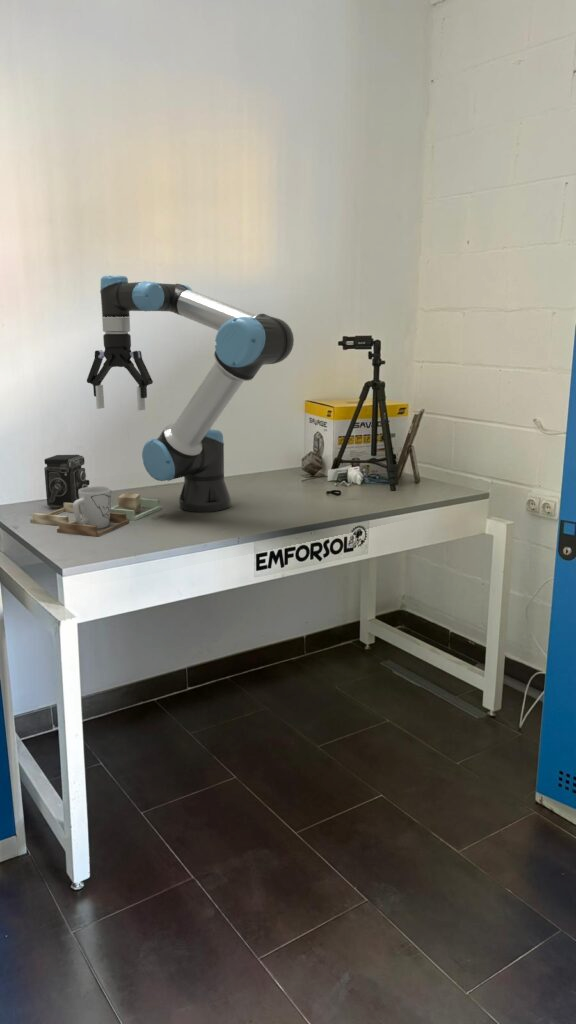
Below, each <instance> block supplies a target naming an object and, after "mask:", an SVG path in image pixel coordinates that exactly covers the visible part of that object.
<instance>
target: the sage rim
mask: <svg viewBox="0 0 576 1024" xmlns="http://www.w3.org/2000/svg"><path fill="white" fill-rule="evenodd" d="M140 503H141V508H146V509H148V510H146V511H144V512H141V513H138V514H136V515H135V514H134V510H125V509H119V506H118V504H117V505H114V506H111V512H112V513H123V514H126V520H129V521H130V520H131V521H137V520H140V519H142V518H144V517H146V516H148V515H151V514H152V513H155V512H157V511H159V510H162V509H163V505H160V499H152V498H141V497H140Z"/></svg>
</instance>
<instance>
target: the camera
mask: <svg viewBox="0 0 576 1024" xmlns="http://www.w3.org/2000/svg"><path fill="white" fill-rule="evenodd" d="M44 464H45V465H46V466H45V467H44V479H45V481H44V482H45V483H44V484H45V493H46V495H45V497H46V504H47V506H48V507H50V508H51V509H54V508H58V509H62V508H64V504H63V503H65V502H66V503H74V502H75V501H76V500H78V499H79V494H78V491H79V489H81V488H85V487H89V486H90V479H87V475H86V469H85V467H82V466H83V465H85V457H84V456H83V455H80V454H55V455H53V456H51V457H47V458H45V459H44Z"/></svg>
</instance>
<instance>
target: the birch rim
mask: <svg viewBox="0 0 576 1024" xmlns="http://www.w3.org/2000/svg"><path fill="white" fill-rule="evenodd" d="M63 504H64V508H58V509H56V510H54V511H50V512H48V513H37V512H33V513H32V518H31V519H30V523H31V524H41V525H43V524H44V525H50V526H51V525H52V526H59V523H61V522H62V523H74V522H76V519H74V520H72V521H70V520H69V516H67V515H58V514H60V513H61V514H62V513H64V512H67V513H74V511H73V503H66V502H65V503H63ZM79 513H80V514H82V513H81V508H80V505H79ZM80 518H81V519H83V517H82V516H81V517H80ZM69 521H70V522H69Z"/></svg>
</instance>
